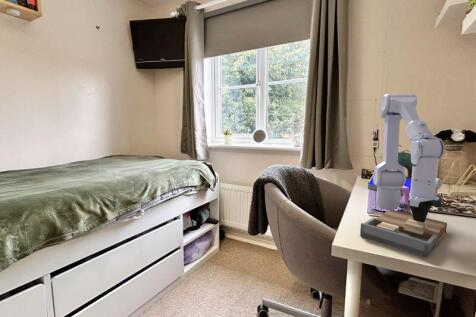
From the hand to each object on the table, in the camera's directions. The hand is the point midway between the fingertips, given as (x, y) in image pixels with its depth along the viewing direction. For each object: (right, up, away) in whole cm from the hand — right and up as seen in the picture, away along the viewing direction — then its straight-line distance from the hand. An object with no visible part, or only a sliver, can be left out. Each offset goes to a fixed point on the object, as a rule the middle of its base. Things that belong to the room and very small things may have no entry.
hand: (418, 224), depth 76 cm
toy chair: (+12, +1, +32) cm, 34 cm away
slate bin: (-8, -4, -3) cm, 10 cm away
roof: (+24, +3, +50) cm, 56 cm away
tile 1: (-10, -2, 0) cm, 10 cm away
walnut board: (0, -3, +5) cm, 6 cm away
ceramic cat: (+44, +8, +80) cm, 92 cm away
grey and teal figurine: (+27, +1, +30) cm, 41 cm away
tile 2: (-3, -1, -2) cm, 3 cm away
